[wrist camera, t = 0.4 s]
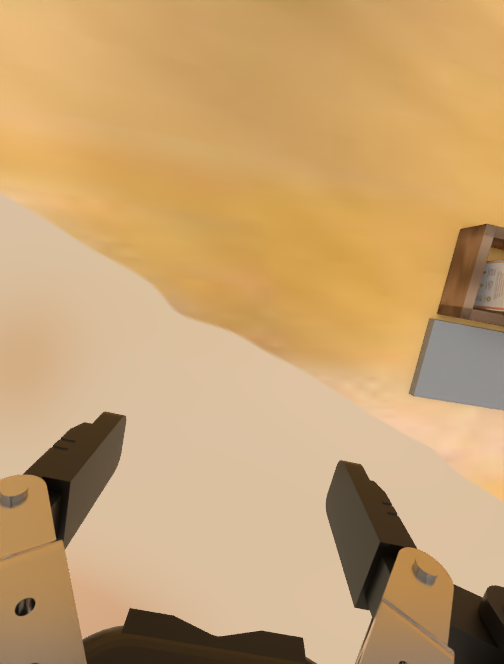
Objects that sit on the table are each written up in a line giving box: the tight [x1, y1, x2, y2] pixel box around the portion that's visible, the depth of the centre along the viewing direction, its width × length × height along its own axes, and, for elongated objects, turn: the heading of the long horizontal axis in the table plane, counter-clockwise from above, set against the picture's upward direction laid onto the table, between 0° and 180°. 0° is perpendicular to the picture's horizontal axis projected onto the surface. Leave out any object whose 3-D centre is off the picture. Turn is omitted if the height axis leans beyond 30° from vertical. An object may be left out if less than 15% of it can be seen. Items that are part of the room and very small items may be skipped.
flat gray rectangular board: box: [409, 319, 504, 410], centre depth 42 cm, size 10×20×1 cm, turn 79°
